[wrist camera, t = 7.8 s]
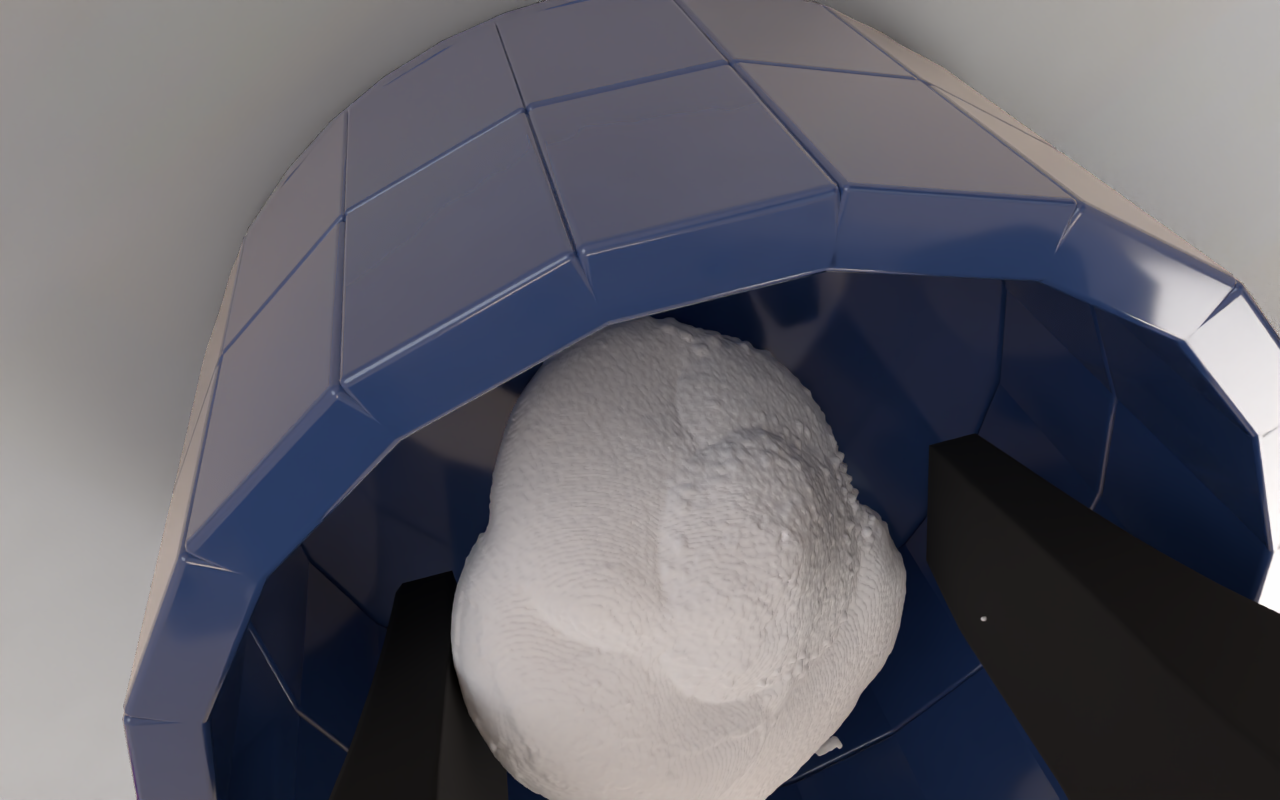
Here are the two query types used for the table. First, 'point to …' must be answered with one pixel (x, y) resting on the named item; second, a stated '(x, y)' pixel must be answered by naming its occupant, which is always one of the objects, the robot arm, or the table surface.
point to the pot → (694, 295)
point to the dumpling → (670, 575)
